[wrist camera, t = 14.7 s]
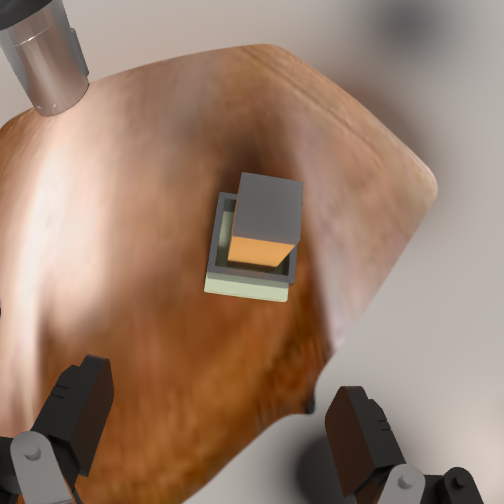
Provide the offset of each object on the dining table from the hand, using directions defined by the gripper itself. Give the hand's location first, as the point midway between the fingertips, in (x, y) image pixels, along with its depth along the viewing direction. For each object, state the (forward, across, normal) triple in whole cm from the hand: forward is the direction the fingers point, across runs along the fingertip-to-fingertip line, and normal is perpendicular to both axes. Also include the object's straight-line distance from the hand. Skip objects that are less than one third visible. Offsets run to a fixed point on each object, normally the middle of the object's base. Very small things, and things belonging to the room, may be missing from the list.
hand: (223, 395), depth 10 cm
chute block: (+22, -2, +2) cm, 22 cm away
